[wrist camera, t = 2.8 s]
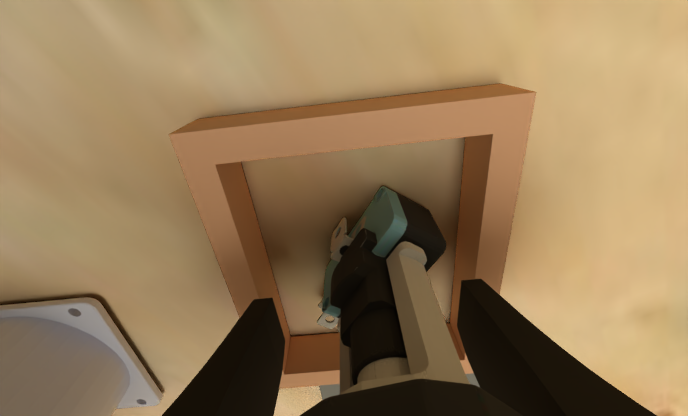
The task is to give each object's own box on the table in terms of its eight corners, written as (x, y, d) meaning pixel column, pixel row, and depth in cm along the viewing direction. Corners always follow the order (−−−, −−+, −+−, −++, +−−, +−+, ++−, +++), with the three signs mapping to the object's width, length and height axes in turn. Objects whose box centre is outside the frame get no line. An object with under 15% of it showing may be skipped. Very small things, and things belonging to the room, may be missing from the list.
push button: (371, 319, 15) (419, 720, 6) (271, 278, 14) (144, 715, 5) (461, 216, 12) (784, 671, 3) (346, 153, 11) (378, 630, 2)
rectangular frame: (275, 351, 16) (267, 389, 14) (198, 118, 10) (168, 134, 8) (468, 335, 15) (485, 372, 14) (500, 83, 10) (536, 92, 8)
